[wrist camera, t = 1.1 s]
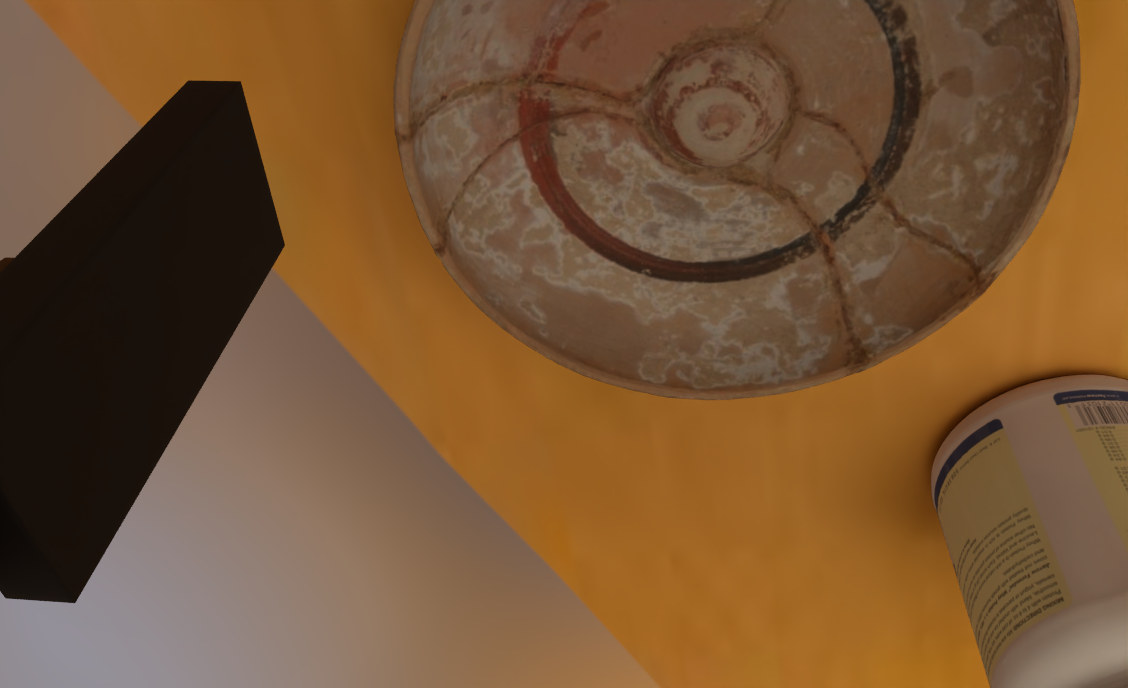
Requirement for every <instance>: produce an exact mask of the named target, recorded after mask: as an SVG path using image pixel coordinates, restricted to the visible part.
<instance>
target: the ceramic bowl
mask: <svg viewBox="0 0 1128 688" xmlns="http://www.w3.org/2000/svg"><path fill="white" fill-rule="evenodd" d="M1079 92H1080V45H1079V29H1078V23H1077V17H1076V12H1075V8H1074V4H1073V0H415V3H414V5H413V8H412V10H411V13H410V16H409V18H408V21H407V23H406V26H405V32H404V34H403V37H402V41H401V45H400V49H399V53H398V58H397V64H396V75H395V81H394V119H395V135H396V139H397V144H398V149H399V154H400V159H401V163H402V168H403V173H404V177H405V180H406V184H407V187H408V190H409V193H410V196H411V199H412V202H413V204H414V207H415V210H416V212H417V215H418V218H419V221H420V223H421V225H422V228H423V230H424V232H425V234H426V236H427V238H428V240H429V241H430V243H431V245H432V247H433V249H434V251H435V254H436V255H437V256H438V257H439V259H440V260H441V262H442V263H443V265H444V267H445V269H446V270H447V271H448V273H449V274H450V275H451V277H452V278H453V279H454V281H455V282H456V283H457V284H458V285H459V287H460V288H461V289H462V290H463V291H464V293H465V294H466V295H467V296H468V297H469V298H470V299H471V300H472V301H473V302H474V303H475V304H476V305H477V307H478V308H480V309H481V310H482V311H483V312H484V313H485V314H486V315H487V316H488V317H490V318H491V319H492V320H493V321H494V322H495V323H497V324H498V325H499V326H500V327H501V328H503V329H504V330H505V331H507V332H508V333H510V334H511V335H513V336H514V337H515V338H516V339H518V340H520V341H521V342H523V343H524V344H526V345H527V346H528V347H530V348H532V349H533V350H535V351H537V352H538V353H540V354H542V355H543V356H545V357H547V358H548V359H550V360H553V361H554V362H556V363H557V364H559V365H562V366H564V367H566V368H568V369H570V370H572V371H574V372H577V373H579V374H581V375H584V376H586V377H589V378H592V379H595V380H598V381H601V382H604V383H608V384H611V385H615V386H618V387H622V388H626V389H629V390H633V391H639V392H644V393H648V394H653V395H658V396H663V397H669V398H682V399H700V400H730V399H740V398H750V397H760V396H769V395H776V394H783V393H788V392H793V391H797V390H801V389H805V388H809V387H813V386H817V385H820V384H824V383H827V382H831V381H834V380H838V379H840V378H843V377H846V376H848V375H851V374H854V373H858V372H861V371H863V370H866V369H868V368H871V367H873V366H875V365H877V364H879V363H881V362H883V361H884V360H886V359H888V358H890V357H892V356H894V355H896V354H899V353H901V352H903V351H904V350H906V349H908V348H910V347H912V346H913V345H915V344H917V343H918V342H920V341H921V340H923V339H924V338H926V337H927V336H929V335H930V334H932V333H933V332H935V331H936V330H938V329H939V328H941V327H942V326H944V325H945V324H946V323H947V322H949V321H950V320H951V319H953V318H954V317H955V316H957V315H958V314H960V313H961V312H962V311H964V310H965V309H966V308H967V307H969V306H970V305H971V304H972V303H973V302H974V301H975V300H976V299H977V298H979V297H980V296H981V295H982V294H983V293H984V292H985V291H986V290H987V289H988V287H989V286H990V285H991V284H992V283H993V282H994V280H995V279H996V278H997V277H998V276H999V274H1000V273H1001V272H1002V271H1003V270H1004V268H1005V267H1006V266H1007V265H1008V264H1009V262H1010V261H1011V260H1012V259H1013V257H1014V256H1015V255H1016V254H1017V252H1018V251H1019V250H1020V248H1021V247H1022V246H1023V245H1024V243H1025V242H1026V241H1027V239H1028V238H1029V236H1030V235H1031V233H1032V231H1033V230H1034V228H1035V227H1036V225H1037V223H1038V222H1039V220H1040V218H1041V216H1042V214H1043V213H1044V211H1045V209H1046V207H1047V205H1048V203H1049V201H1050V199H1051V196H1052V194H1053V192H1054V189H1055V187H1056V184H1057V182H1058V179H1059V177H1060V174H1061V171H1062V169H1063V166H1064V163H1065V160H1066V158H1067V155H1068V152H1069V148H1070V144H1071V139H1072V135H1073V130H1074V126H1075V121H1076V116H1077V112H1078V102H1079Z"/></svg>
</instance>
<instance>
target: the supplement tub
mask: <svg viewBox="0 0 1128 688" xmlns="http://www.w3.org/2000/svg"><path fill="white" fill-rule="evenodd" d="M931 488H932V500H933V503H934V507H935V509H936V511H937V514H938V517H939V521H940V523H941V526H942V530H943V533H944V536H945V540H946V543H947V546H948V550H949V553H950V556H951V560H952V563H953V566H954V569H955V573H956V576H957V579H958V583H959V586H960V589H961V593H962V596H963V599H964V602H965V606H966V609H967V612H968V616H969V619H970V622H971V625H972V629H973V632H974V635H975V638H976V642H977V645H978V648H979V651H980V655H981V658H982V661H983V665H984V668H985V671H986V675H987V678H988V681H989V684H990V688H1128V380H1125V379H1121V378H1116V377H1112V376H1105V375H1072V376H1063V377H1057V378H1051V379H1046V380H1042V381H1038V382H1034V383H1031V384H1027V385H1024V386H1021V387H1018V388H1016V389H1013V390H1010V391H1008V392H1006V393H1004V394H1002V395H1000V396H998V397H996V398H994V399H992V400H990V401H988V402H987V403H985V404H983V405H982V406H980V407H979V408H977V409H976V410H974V411H973V412H972V413H970V414H969V415H968V416H967V417H966V418H964V419H963V420H962V421H961V422H960V423H959V424H958V425H957V426H956V427H955V428H954V429H953V430H952V431H951V432H950V434H949V435H948V436H947V438H946V439H945V440H944V442H943V443H942V445H941V447H940V449H939V451H938V453H937V454H936V457H935V460H934V463H933V467H932V474H931Z"/></svg>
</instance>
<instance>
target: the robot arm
mask: <svg viewBox="0 0 1128 688" xmlns="http://www.w3.org/2000/svg"><path fill="white" fill-rule="evenodd" d="M284 246H285V244H284V240H283V236H282V233H281V229H280V225H279V221H278V218H277V214H276V210H275V207H274V203H273V199H272V196H271V192H270V188H269V185H268V181H267V177H266V173H265V170H264V166H263V162H262V159H261V155H260V151H259V148H258V144H257V140H256V136H255V133H254V129H253V125H252V122H251V118H250V114H249V111H248V107H247V103H246V99H245V96H244V92H243V88H242V85H241V81H187V82H186V84H185V85H184V86H183V87H182V88H181V89H180V90H179V91H178V92H177V93H176V94H175V95H174V96H173V97H172V98H171V99H170V100H169V101H168V102H167V103H166V104H165V105H164V106H163V107H162V108H161V109H160V110H159V111H158V112H157V113H156V114H155V115H154V116H153V117H152V118H151V119H150V120H149V121H148V122H147V123H146V124H145V125H144V126H143V127H142V128H141V130H140V131H139V132H138V133H137V134H136V135H135V136H134V137H133V138H132V139H131V140H130V141H129V142H128V143H127V144H126V145H125V146H124V147H123V148H122V149H121V150H120V151H119V152H118V153H117V154H116V155H115V156H114V157H113V158H112V159H111V160H110V161H109V162H108V163H107V164H106V165H105V166H104V167H103V168H102V169H101V170H100V172H99V173H97V174H96V176H95V177H94V178H93V179H92V180H91V181H90V182H89V183H88V184H87V185H86V186H85V187H84V188H83V189H82V190H81V191H80V192H79V193H78V194H77V195H76V196H75V197H74V198H73V199H72V200H71V201H70V202H69V203H68V204H67V205H66V206H65V207H64V208H63V209H62V210H61V211H60V212H59V213H58V214H57V215H56V217H54V218H53V220H51V221H50V223H49V224H48V225H47V226H46V227H45V228H44V229H43V230H42V231H41V232H40V233H39V234H38V235H37V236H36V237H35V238H34V239H33V240H32V241H31V242H30V243H29V244H28V245H27V246H26V247H25V248H24V249H23V250H22V251H21V252H20V253H19V254H18V255H17V256H16V257H15V258H4V259H3V260H1V261H0V591H1V593H2V594H3V595H4V597H5V598H9V599H10V598H11V599H24V600H25V599H26V600H38V601H53V602H68V603H75V602H76V601H77V599H78V597H79V596H80V594H81V592H82V590H83V588H84V587H85V585H86V583H87V582H88V580H89V578H90V577H91V575H92V573H93V572H94V570H95V568H96V566H97V565H98V563H99V561H100V560H101V558H102V556H103V555H104V553H105V551H106V549H107V548H108V546H109V544H110V543H111V541H112V539H113V538H114V536H115V534H116V532H117V531H118V529H119V527H120V526H121V524H122V522H123V520H124V519H125V517H126V515H127V514H128V512H129V510H130V509H131V507H132V505H133V503H134V502H135V500H136V498H137V497H138V495H139V493H140V491H141V490H142V488H143V486H144V485H145V483H146V481H147V479H148V478H149V476H150V474H151V473H152V471H153V469H154V468H155V466H156V464H157V462H158V461H159V459H160V457H161V456H162V454H163V452H164V451H165V449H166V447H167V445H168V444H169V442H170V440H171V439H172V437H173V435H174V434H175V432H176V430H177V428H178V427H179V425H180V423H181V422H182V420H183V418H184V416H185V415H186V413H187V411H188V410H189V408H190V406H191V404H192V403H193V401H194V399H195V398H196V396H197V394H198V392H199V391H200V389H201V388H202V386H203V384H204V382H205V381H206V379H207V377H208V375H209V374H210V372H211V370H212V369H213V367H214V365H215V364H216V362H217V360H218V359H219V357H220V355H221V353H222V351H223V350H224V348H225V347H226V345H227V343H228V341H229V340H230V338H231V336H232V335H233V333H234V331H235V330H236V328H237V326H238V324H239V323H240V321H241V319H242V318H243V316H244V314H245V313H246V311H247V309H248V307H249V306H250V304H251V302H252V301H253V299H254V297H255V295H256V294H257V292H258V290H259V289H260V287H261V285H262V284H263V282H264V280H265V278H266V277H267V275H268V273H269V271H270V270H271V268H272V266H273V265H274V263H275V261H276V260H277V258H278V256H279V255H280V253H281V251H282V249H283V248H284Z"/></svg>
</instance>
